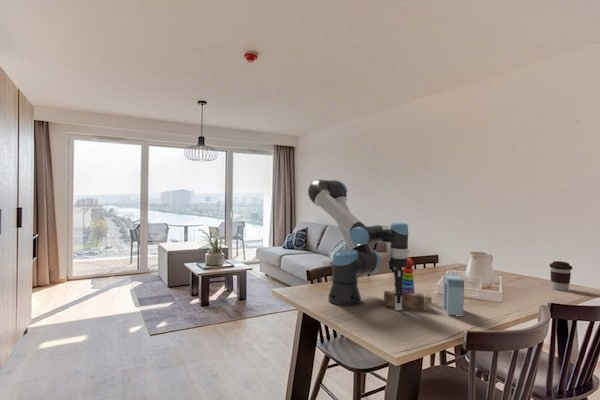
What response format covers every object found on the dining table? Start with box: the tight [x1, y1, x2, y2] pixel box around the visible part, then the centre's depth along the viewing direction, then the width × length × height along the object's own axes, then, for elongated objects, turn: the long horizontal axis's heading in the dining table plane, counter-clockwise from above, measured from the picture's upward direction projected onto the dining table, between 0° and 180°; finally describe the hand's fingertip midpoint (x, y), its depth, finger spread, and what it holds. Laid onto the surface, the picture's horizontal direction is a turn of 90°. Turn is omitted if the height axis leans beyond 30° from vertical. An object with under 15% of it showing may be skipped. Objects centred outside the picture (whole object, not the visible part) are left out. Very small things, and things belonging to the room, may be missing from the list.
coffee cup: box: [549, 260, 573, 292], centre depth 188 cm, size 10×10×15 cm
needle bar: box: [383, 290, 432, 311], centre depth 153 cm, size 20×4×6 cm, turn 76°
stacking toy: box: [402, 257, 416, 293], centre depth 171 cm, size 8×8×19 cm
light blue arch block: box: [442, 273, 465, 317], centre depth 148 cm, size 6×12×15 cm, turn 166°
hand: (397, 306), depth 154 cm, fingers open, 11 cm apart
